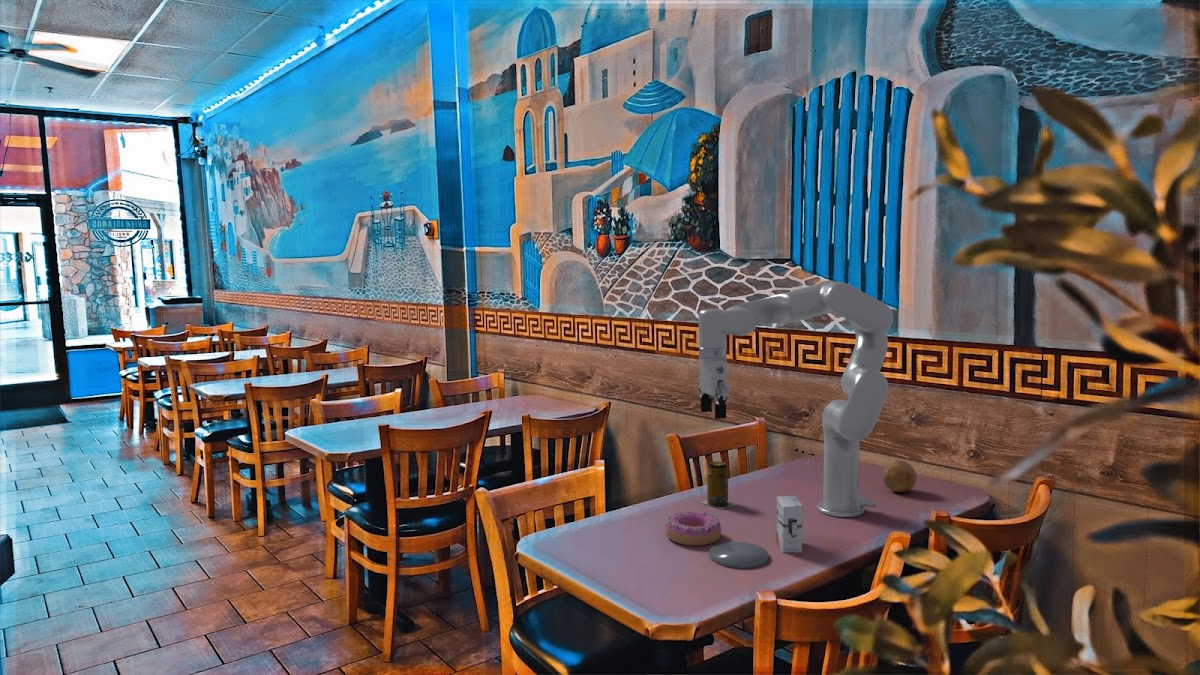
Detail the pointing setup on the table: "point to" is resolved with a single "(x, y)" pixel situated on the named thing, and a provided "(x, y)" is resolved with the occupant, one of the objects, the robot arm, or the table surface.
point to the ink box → (789, 523)
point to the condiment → (718, 486)
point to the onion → (899, 476)
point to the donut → (693, 528)
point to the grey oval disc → (738, 555)
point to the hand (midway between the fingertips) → (713, 414)
